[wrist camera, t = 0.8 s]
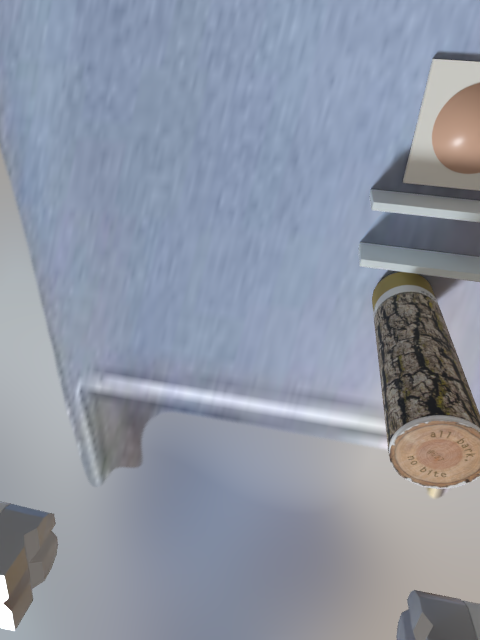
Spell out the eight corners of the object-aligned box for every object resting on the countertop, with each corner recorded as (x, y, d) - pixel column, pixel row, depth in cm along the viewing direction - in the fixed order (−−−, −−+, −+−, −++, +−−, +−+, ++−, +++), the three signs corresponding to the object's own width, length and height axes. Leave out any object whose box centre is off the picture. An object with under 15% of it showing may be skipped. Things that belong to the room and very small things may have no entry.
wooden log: (404, 257, 50) (448, 404, 29) (445, 295, 51) (514, 462, 30) (359, 295, 53) (368, 451, 32) (398, 330, 55) (431, 501, 34)
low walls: (370, 188, 47) (373, 202, 43) (511, 203, 45) (528, 219, 41) (358, 248, 51) (359, 266, 46) (487, 265, 49) (501, 284, 44)
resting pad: (432, 58, 40) (433, 58, 40) (563, 67, 39) (566, 67, 38) (402, 181, 46) (403, 183, 45) (515, 192, 44) (517, 194, 44)
